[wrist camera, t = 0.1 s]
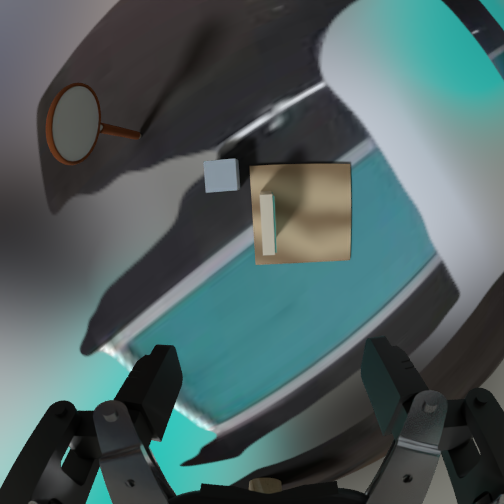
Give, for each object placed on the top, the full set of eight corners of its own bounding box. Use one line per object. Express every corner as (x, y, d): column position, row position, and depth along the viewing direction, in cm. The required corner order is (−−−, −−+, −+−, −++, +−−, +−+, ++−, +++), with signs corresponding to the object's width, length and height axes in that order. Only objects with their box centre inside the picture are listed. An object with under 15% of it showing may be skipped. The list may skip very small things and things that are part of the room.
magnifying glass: (138, 109, 34) (51, 76, 15) (148, 108, 34) (63, 72, 15) (131, 164, 36) (37, 167, 17) (141, 164, 36) (48, 166, 17)
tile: (260, 190, 36) (259, 195, 30) (272, 190, 36) (274, 194, 30) (263, 240, 38) (262, 255, 32) (275, 240, 38) (276, 254, 32)
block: (209, 162, 36) (203, 161, 32) (238, 159, 36) (235, 158, 32) (211, 190, 37) (205, 192, 33) (240, 188, 37) (237, 190, 33)
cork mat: (249, 166, 36) (249, 166, 36) (349, 164, 35) (350, 164, 35) (255, 263, 40) (255, 264, 39) (349, 259, 39) (349, 259, 39)
